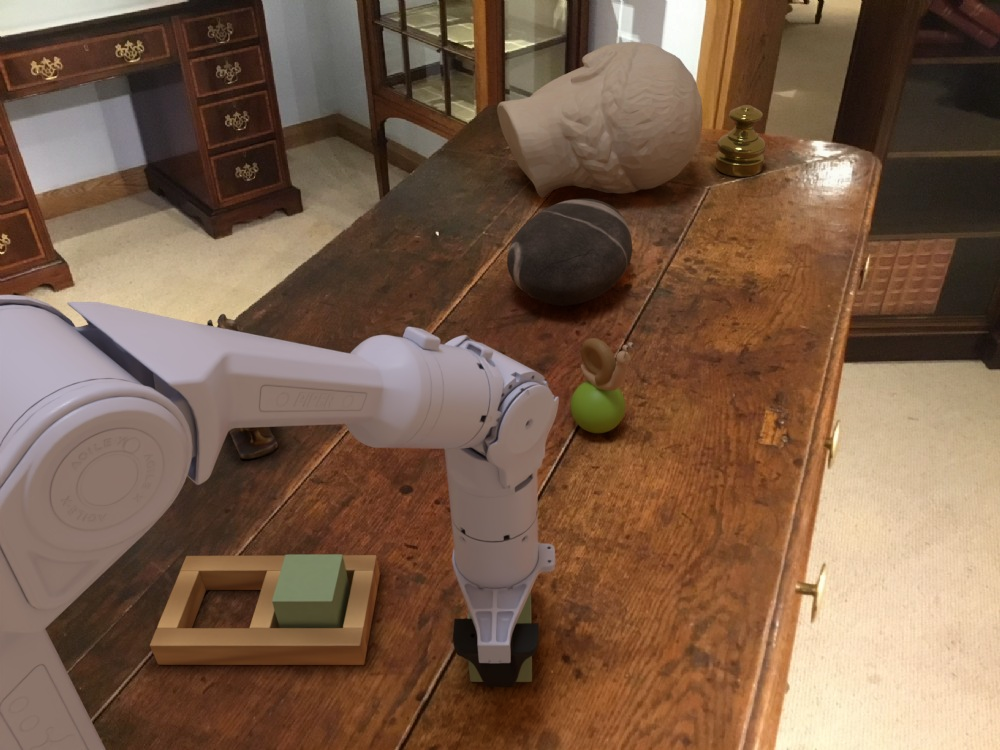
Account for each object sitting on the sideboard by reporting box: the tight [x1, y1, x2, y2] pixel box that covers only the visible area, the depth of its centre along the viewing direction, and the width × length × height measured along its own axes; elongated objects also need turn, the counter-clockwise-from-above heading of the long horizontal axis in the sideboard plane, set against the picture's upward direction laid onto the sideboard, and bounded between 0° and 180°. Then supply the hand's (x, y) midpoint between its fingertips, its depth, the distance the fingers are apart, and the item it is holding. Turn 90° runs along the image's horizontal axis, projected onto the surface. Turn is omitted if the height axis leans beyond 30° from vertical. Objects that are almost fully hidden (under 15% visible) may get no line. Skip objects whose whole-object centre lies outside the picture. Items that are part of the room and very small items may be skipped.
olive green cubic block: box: [467, 590, 533, 683], centre depth 64 cm, size 5×5×5 cm
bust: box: [496, 41, 704, 199], centre depth 127 cm, size 21×24×30 cm
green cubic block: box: [272, 553, 350, 628], centre depth 67 cm, size 5×5×5 cm
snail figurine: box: [570, 337, 634, 434], centre depth 82 cm, size 5×6×12 cm
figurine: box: [206, 313, 279, 460], centre depth 81 cm, size 7×4×15 cm, turn 28°
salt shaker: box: [714, 104, 767, 178], centre depth 133 cm, size 7×7×10 cm
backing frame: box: [149, 554, 381, 666], centre depth 68 cm, size 9×16×2 cm, turn 89°
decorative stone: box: [506, 198, 633, 307], centre depth 106 cm, size 19×14×10 cm
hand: (501, 637), depth 64 cm, fingers open, 7 cm apart
